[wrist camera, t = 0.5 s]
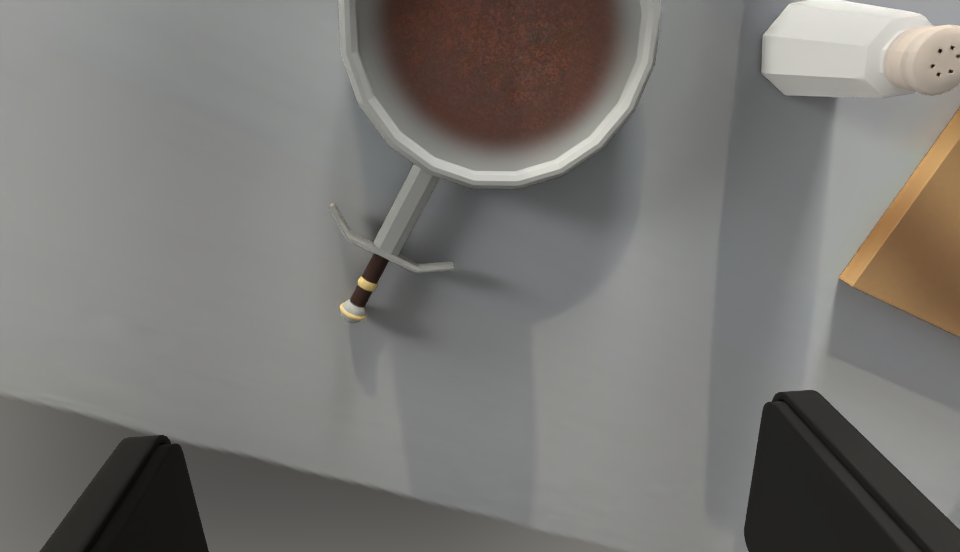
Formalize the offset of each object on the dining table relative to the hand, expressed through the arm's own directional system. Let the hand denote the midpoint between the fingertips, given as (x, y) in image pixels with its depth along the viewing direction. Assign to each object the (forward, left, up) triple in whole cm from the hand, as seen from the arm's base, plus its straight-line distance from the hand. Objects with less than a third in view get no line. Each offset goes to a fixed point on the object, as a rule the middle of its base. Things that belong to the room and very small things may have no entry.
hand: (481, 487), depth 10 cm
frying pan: (-1, -1, -30) cm, 30 cm away
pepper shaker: (-17, +12, -30) cm, 36 cm away
